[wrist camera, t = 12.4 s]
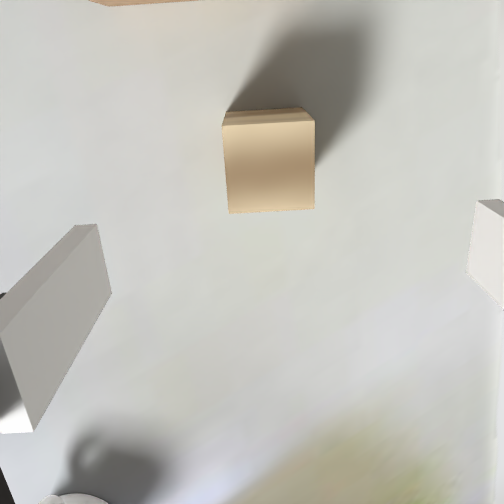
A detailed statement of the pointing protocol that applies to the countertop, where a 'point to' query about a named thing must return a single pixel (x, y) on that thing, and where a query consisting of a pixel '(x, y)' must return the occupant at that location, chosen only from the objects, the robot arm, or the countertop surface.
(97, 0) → the base board
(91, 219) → the countertop surface
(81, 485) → the countertop surface
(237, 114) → the oak cube
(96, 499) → the cup
